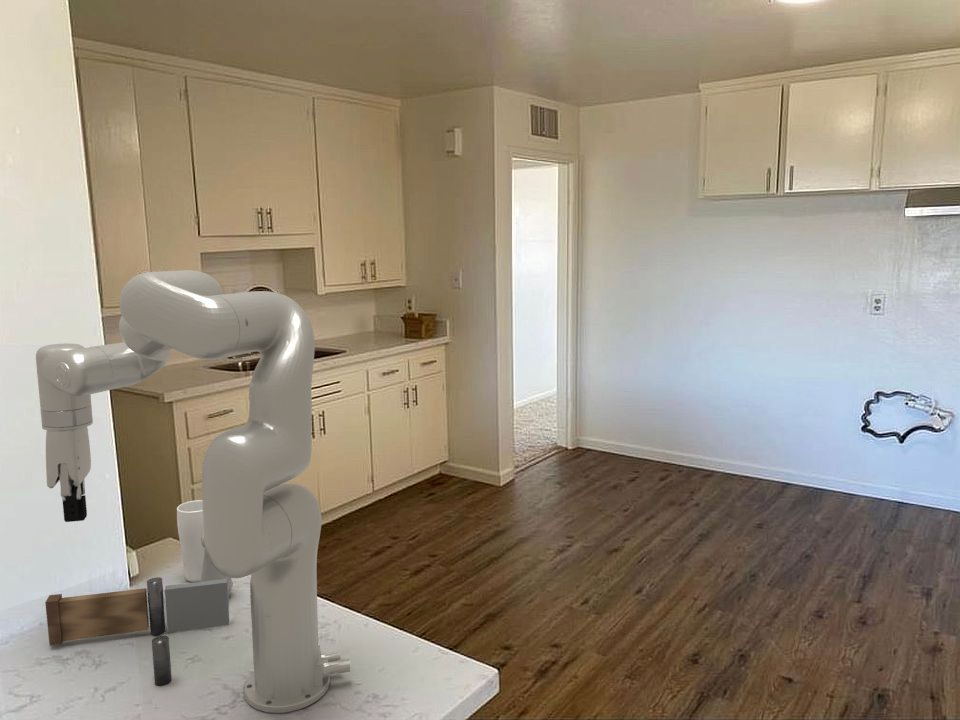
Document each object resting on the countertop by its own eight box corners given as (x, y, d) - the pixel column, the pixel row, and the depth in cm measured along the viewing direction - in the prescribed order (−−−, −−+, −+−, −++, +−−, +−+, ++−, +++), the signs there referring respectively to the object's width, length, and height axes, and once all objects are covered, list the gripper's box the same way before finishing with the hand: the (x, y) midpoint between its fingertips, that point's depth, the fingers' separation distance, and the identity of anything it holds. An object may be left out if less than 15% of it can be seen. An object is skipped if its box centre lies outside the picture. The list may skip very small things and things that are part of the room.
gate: (149, 625, 125) (146, 584, 124) (147, 632, 123) (144, 590, 122) (53, 638, 121) (49, 595, 120) (49, 645, 119) (45, 602, 118)
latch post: (172, 675, 113) (169, 634, 111) (170, 685, 110) (167, 642, 109) (155, 678, 112) (152, 636, 111) (153, 687, 110) (150, 645, 108)
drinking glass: (204, 586, 141) (200, 513, 139) (173, 583, 143) (168, 510, 140) (223, 571, 148) (219, 501, 145) (193, 567, 149) (189, 498, 147)
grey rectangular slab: (229, 620, 129) (227, 578, 127) (228, 624, 127) (226, 582, 126) (168, 628, 126) (165, 585, 125) (167, 633, 125) (164, 589, 123)
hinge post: (166, 627, 126) (163, 576, 125) (164, 634, 124) (161, 583, 123) (151, 629, 126) (147, 578, 124) (149, 636, 123) (145, 584, 122)
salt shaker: (239, 595, 138) (236, 531, 136) (214, 608, 133) (210, 541, 131) (219, 587, 141) (216, 524, 139) (194, 600, 136) (190, 534, 134)
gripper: (54, 408, 129) (63, 506, 132) (28, 429, 115) (38, 539, 118) (101, 405, 131) (108, 502, 134) (81, 426, 117) (90, 534, 120)
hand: (75, 519), depth 126 cm, fingers closed
